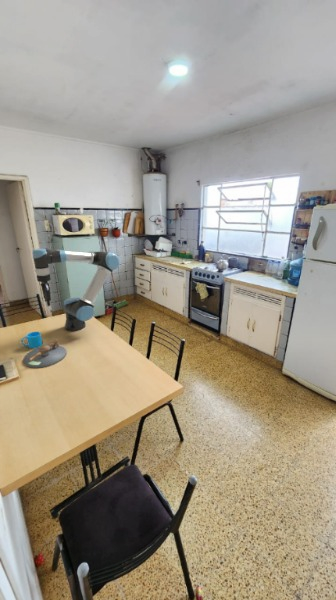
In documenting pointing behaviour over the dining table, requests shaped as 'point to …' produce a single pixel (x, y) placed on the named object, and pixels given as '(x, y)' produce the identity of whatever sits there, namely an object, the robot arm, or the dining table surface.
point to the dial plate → (44, 357)
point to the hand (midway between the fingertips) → (49, 309)
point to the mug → (33, 340)
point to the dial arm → (47, 348)
